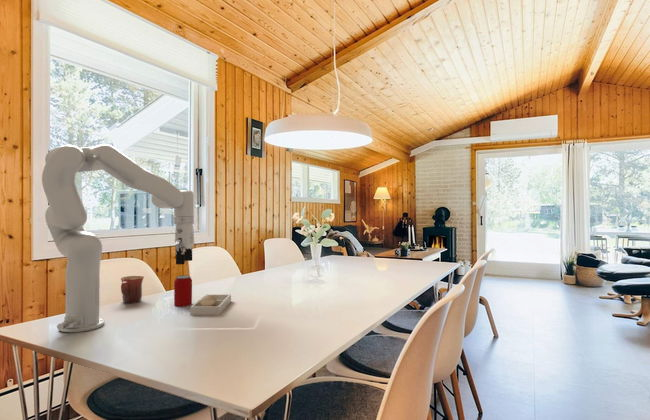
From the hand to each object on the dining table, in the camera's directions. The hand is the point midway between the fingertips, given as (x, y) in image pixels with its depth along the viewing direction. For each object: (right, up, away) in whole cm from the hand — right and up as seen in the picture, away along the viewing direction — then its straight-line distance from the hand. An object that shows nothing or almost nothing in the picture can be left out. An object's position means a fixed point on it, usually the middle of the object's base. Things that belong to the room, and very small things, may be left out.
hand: (184, 262), depth 153 cm
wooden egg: (+13, -17, -10) cm, 24 cm away
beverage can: (0, -18, 0) cm, 18 cm away
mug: (-25, -18, +5) cm, 31 cm away
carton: (+13, -18, -5) cm, 22 cm away
